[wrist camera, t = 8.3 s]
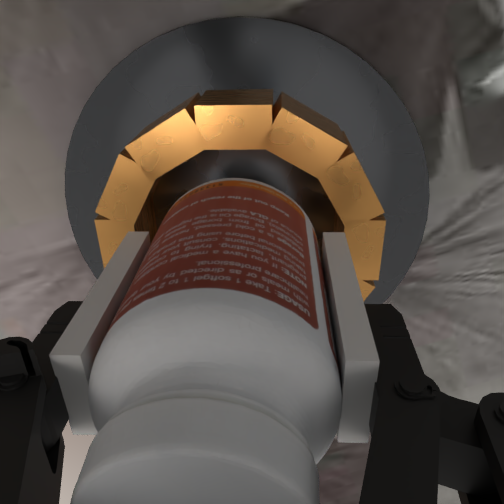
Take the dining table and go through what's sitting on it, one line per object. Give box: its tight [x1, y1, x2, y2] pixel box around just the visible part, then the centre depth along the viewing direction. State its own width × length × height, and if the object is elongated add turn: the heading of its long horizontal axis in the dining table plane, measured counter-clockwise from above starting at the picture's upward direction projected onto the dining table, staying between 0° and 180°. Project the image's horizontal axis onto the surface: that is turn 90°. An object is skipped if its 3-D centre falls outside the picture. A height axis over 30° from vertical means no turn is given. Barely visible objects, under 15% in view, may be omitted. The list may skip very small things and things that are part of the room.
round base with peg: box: [65, 17, 429, 304], centre depth 16 cm, size 20×16×14 cm
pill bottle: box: [70, 178, 342, 504], centre depth 13 cm, size 6×6×11 cm
